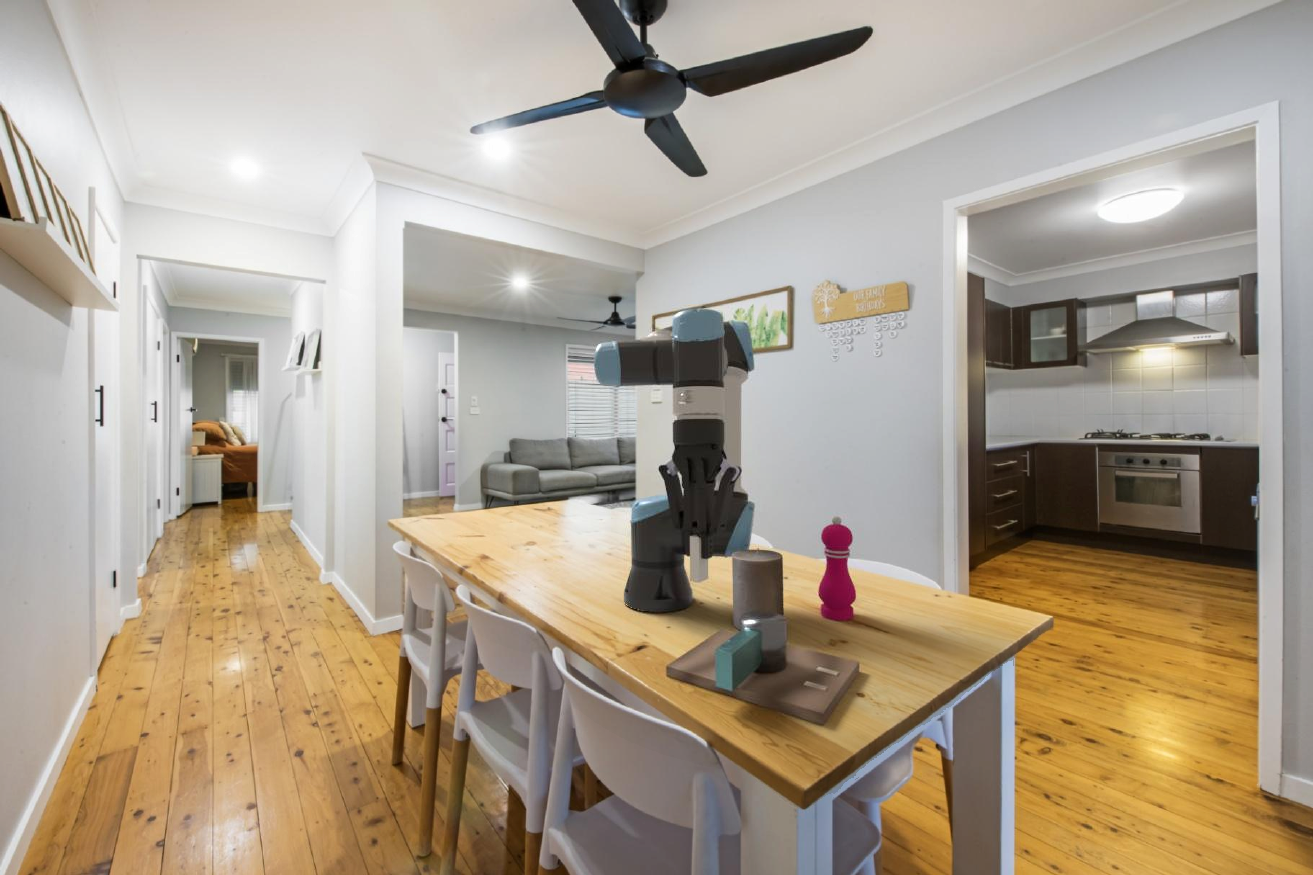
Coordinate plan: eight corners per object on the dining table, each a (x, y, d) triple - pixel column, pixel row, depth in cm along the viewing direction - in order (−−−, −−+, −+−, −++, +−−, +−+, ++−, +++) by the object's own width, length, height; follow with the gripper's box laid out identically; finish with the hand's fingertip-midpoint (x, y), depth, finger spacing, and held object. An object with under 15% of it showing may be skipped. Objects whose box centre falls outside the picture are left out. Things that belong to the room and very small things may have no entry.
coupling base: (666, 675, 80) (666, 664, 80) (721, 637, 95) (721, 628, 95) (823, 725, 67) (822, 712, 66) (859, 671, 81) (859, 660, 81)
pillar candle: (791, 622, 102) (790, 545, 102) (772, 639, 94) (771, 555, 94) (745, 614, 107) (744, 541, 107) (723, 628, 99) (722, 549, 99)
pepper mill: (849, 624, 101) (849, 521, 100) (813, 616, 105) (812, 517, 105) (860, 614, 107) (860, 515, 106) (825, 607, 111) (825, 512, 111)
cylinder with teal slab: (701, 690, 72) (700, 641, 72) (752, 648, 86) (751, 608, 86) (747, 705, 68) (747, 654, 68) (793, 659, 82) (793, 616, 82)
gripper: (647, 418, 77) (648, 579, 77) (726, 416, 69) (727, 593, 70) (674, 419, 83) (675, 568, 83) (750, 417, 76) (751, 580, 76)
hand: (699, 579), depth 76 cm, fingers closed
